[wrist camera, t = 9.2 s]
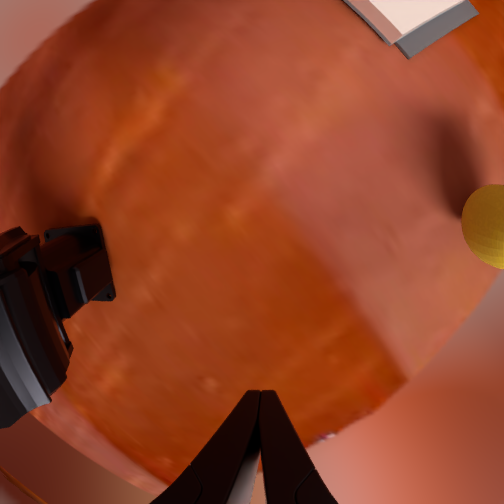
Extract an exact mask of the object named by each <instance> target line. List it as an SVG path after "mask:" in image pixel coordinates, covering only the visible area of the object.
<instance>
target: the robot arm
mask: <svg viewBox="0 0 504 504" xmlns="http://www.w3.org/2000/svg"><path fill="white" fill-rule="evenodd" d="M94 228H95V229H96V230H97V233H96V232H95V230H94ZM49 235H50V236H49ZM44 237H45V242H46V243H44V244H42V245H39V243H40V239H39V235H31V236H30V235H27V233H25V232H24V231H23V229H22V228H21V227H20V226H19V227H14V228H12V229H9V230H7V231H5V232H2V233H0V429H1V428H7V427H10V426H11V425H13V424H14V423H15V422H16V421H17V420H19V419H20V418H21V417H22V416H23V415H25V414H26V413H27V412H29V411H31V410H33V409H35V408H36V407H38V406H42V405H45V404H48V403H50V402H51V401H52V399H51V397H50V396H51V395H52V394H53V393H54V392H56V390H57V389H58V388H59V387H61V385H62V384H63V383H64V382H65V380H66V379H67V375H66V371H67V368H68V366H69V363H70V360H69V359H70V357H71V354H72V351H73V349H74V348H73V345H72V343H71V341H69V339H68V336H67V333H66V331H65V328H64V326H63V323H62V322H64V321H65V320H66V319H67V318H68V319H69V318H71V317H72V316H73V315H74V314H75V313H76V312H77V311H78V310H79V309H80V308H81V307H82V306H84V305H85V304H87V303H88V302H90V301H91V300H93V301H113V300H114V299H115V297H116V293H115V289H114V285H113V281H112V280H113V278H112V274H111V270H110V265H109V261H108V256H107V252H106V249H105V244H104V239H103V233H102V229H101V226H100V225H98V224H89V225H79V226H70V227H62V228H53V229H48V230H46V231H45V232H44ZM109 294H110V295H111V296H110V295H109ZM260 450H261V461H262V471H263V481H264V490H265V500H266V504H338V502H337V501H336V500H335V498H334V497H333V496H332V495H331V493H330V492H329V490H328V488H327V487H326V485H325V484H324V482H323V480H322V479H321V477H320V475H319V473H318V471H317V470H316V469H315V466H314V464H313V462H312V461H311V459H310V457H309V455H308V453H307V451H306V449H305V447H304V446H303V444H302V442H301V440H300V438H299V436H298V434H297V432H296V430H295V428H294V427H293V425H292V423H291V421H290V419H289V417H288V415H287V413H286V411H285V409H284V407H283V405H282V403H281V401H280V399H279V397H278V395H277V393H276V391H275V390H262V391H260V390H248V391H246V393H245V394H244V395H243V397H242V398H241V399H240V401H239V402H238V404H237V405H236V406H235V408H234V409H233V410H232V412H231V413H230V414H229V415H228V417H227V418H226V419H225V421H224V422H223V423H222V425H221V426H220V427H219V428H218V430H217V431H216V432H215V434H214V435H213V436H212V437H211V439H210V440H209V441H208V442H207V444H206V445H205V446H204V447H203V449H202V450H201V451H200V452H199V453H198V455H197V456H196V457H195V458H194V460H193V461H192V462H191V463H190V465H188V467H187V468H186V469H185V470H184V471H183V472H182V474H181V475H180V476H179V477H178V478H177V479H176V480H175V481H174V482H173V483H172V484H171V485H170V486H169V487H168V488H167V489H166V490H165V491H164V492H162V493H161V494H160V495H159V496H158V497H157V498H155V499H154V500H153V501H152V502H151V503H150V504H250V501H251V496H252V492H253V487H254V482H255V478H256V473H257V468H258V463H259V458H260Z"/></svg>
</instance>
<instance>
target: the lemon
mask: <svg viewBox="0 0 504 504" xmlns="http://www.w3.org/2000/svg"><path fill="white" fill-rule="evenodd" d="M461 224H462V231H463V235H464V238H465V241H466V242H467V244H468V246H469V248H470V249H471V251H472V252H473V253H474V254H475V255H476V256H477V257H478V258H480V259H481V260H482V261H483V262H485V263H487V264H489V265H492V266H494V267H497V268H500V269H504V185H486V186H483V187H481V188H479V189H477V190H476V191H475V192H473V193H472V194H471V195H470V197H469V198H468V199H467V201H466V203H465V205H464V208H463V212H462V220H461Z"/></svg>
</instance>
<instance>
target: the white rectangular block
mask: <svg viewBox="0 0 504 504" xmlns="http://www.w3.org/2000/svg"><path fill="white" fill-rule="evenodd" d="M343 1H344V2H345V3H347V4H348V5H349V6H350V7H351V8H352V9H353V10H354V11H355V12H356V13H357V14H358V15H360V16H361V17H362V18H363V19H364V20H365V21H366V22H367V23H368V24H369V25H370V26H371V27H372V28H373V29H374V30H375V31H376V32H377V34H378V35H379V36H380V37H381V38H382V39H383V40H384V41H385V42H386V43H387V44H388V45H389V46H391V45H392V44H394V43H395V42H397V41H398V40H400V39H401V38H403V37H405V36H406V35H408V34H409V33H411V32H412V31H414V30H416V29H417V28H419V27H421V26H422V25H424V24H426V23H427V22H429V21H431V20H432V19H434V18H436V17H438V16H439V15H441V14H443V13H445V12H446V11H448V10H450V9H452V8H454V7H455V6H457V5H459V4H460V3H462V2H463V1H465V0H343Z"/></svg>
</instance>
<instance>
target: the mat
mask: <svg viewBox="0 0 504 504" xmlns="http://www.w3.org/2000/svg"><path fill="white" fill-rule="evenodd" d="M477 14H479V13H478V12H477V10H476V9H475V8H474V7H473V6H472V4H471V3H470V2H469V1H468V0H465V1H463V2H462V3H460V4H459V5H457V6H455V7H454V8H452V9H450V10H448V11H446V12H445V13H443V14H441V15H439V16H438V17H436V18H434V19H432V20H431V21H429V22H427V23H426V24H424V25H422V26H421V27H419V28H417V29H416V30H414V31H412V32H411V33H409V34H408V35H406V36H405V37H403V38H401V39H400V40H398V41H397V42H395V43H394V44H395V45H396V46H397V47H398V48H399V49H400V50H401V52H402V53H403V54H404V55H405V56H406V58H407V59H410V58H411V57H413V56H414V55H416V54H417V53H419V52H420V51H421V50H423V49H424V48H426V47H427V46H429V45H430V44H432V43H433V42H435V41H436V40H438V39H439V38H441V37H442V36H444V35H445V34H447V33H449V32H450V31H452V30H453V29H455V28H456V27H458V26H460V25H461V24H463V23H464V22H466V21H468V20H469V19H471V18H472V17H474V16H476V15H477Z"/></svg>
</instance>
